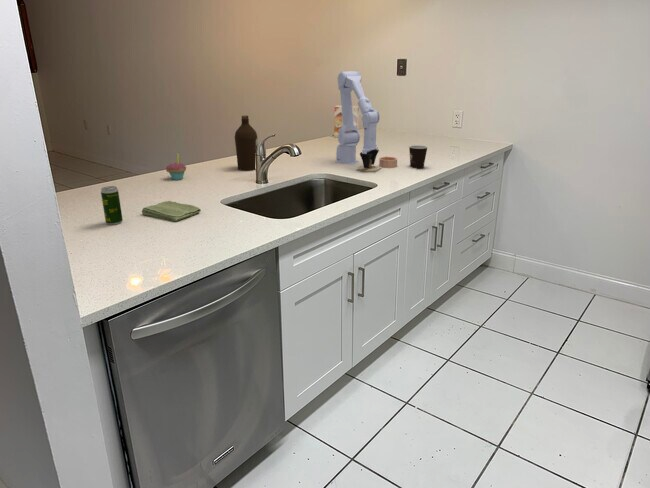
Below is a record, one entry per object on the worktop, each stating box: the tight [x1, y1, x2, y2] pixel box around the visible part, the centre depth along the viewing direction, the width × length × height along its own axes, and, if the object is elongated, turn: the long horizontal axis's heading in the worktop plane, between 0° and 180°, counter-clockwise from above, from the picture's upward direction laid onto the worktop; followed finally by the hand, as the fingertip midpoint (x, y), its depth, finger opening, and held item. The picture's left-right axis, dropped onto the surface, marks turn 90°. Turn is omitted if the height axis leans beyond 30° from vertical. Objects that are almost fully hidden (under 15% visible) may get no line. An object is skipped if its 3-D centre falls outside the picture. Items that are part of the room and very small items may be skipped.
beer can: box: [100, 185, 123, 226], centre depth 169 cm, size 5×5×12 cm
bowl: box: [378, 156, 398, 169], centre depth 250 cm, size 8×8×4 cm
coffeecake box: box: [333, 104, 360, 138], centre depth 328 cm, size 15×7×20 cm, turn 81°
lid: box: [358, 159, 380, 173], centre depth 243 cm, size 10×10×5 cm
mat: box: [355, 167, 383, 174], centre depth 244 cm, size 10×10×1 cm
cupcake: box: [165, 152, 187, 181], centre depth 225 cm, size 9×8×12 cm
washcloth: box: [141, 200, 201, 223], centre depth 180 cm, size 13×18×3 cm
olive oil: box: [234, 114, 258, 172], centre depth 242 cm, size 11×11×25 cm
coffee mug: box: [408, 144, 428, 170], centre depth 249 cm, size 12×9×10 cm
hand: (368, 166), depth 243 cm, fingers open, 7 cm apart
